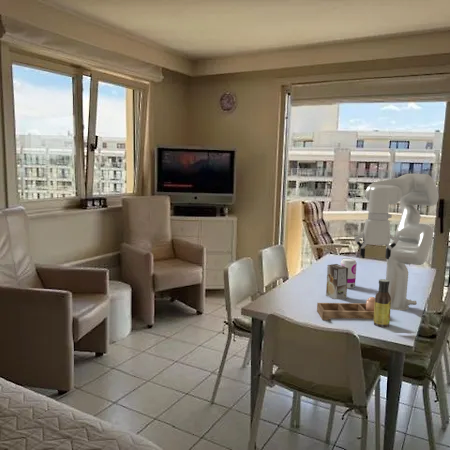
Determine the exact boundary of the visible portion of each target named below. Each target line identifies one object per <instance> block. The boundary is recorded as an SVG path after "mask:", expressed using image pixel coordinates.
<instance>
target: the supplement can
mask: <svg viewBox="0 0 450 450" xmlns="http://www.w3.org/2000/svg"><path fill="white" fill-rule="evenodd" d="M356 261H357V260H356V259H354V258H347V257H346V258H342V260H341V261H340V265H341V266H344V267H347V268H348V279H347V289H354V287H356V277H357V265H358V264H357V262H356Z"/></svg>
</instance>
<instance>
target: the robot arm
mask: <svg viewBox="0 0 450 450" xmlns="http://www.w3.org/2000/svg"><path fill="white" fill-rule="evenodd" d="M434 180H435V179H433V177H432V176H431V175H430V174H427V173H426V174H425V173H405V174H403V175H401V176H398V177H396V178H391V179H385V180H384V179H383V180H379V181H375V182H372V183H370V184H369V185H368V186H367V188H366V190H365V198H366V200H367V201H368V202H369V203H368V212H367V213H368V216H367V219H365V222H364V226H363V232H362V233H361V234H359V235H356V236H354V241H355V243H356V244H357V245H358V246H359V248H360V252H359V256H361V258H362V259H365V257H366V248H365V247H366V246H367V245H375V246H386V247H385V255H384V256H385V259H386V274H385V280H389V288H388V290H389V291H388V292H389V294H390V296H391V310H392V311H406V310H409V309H410V305H411V306H417V300H412V299H407V295H408V294H407V293H408V284H409V283H408V281H409V270H408V267H407V266H406V264H407V265H415V266H422V265H424V264H425V263H426V260H427V258H428V254H429V251H430V248H431V245H432V242H433V237H434V230H433V227H432V226H431V225H429V224H426V223H420V221H421V218H422V216H421V214H420V212H419V210H418V209H417V208H416V207H415V205H417V206H426V207H427V206H429V207H430V206H431V207H433V206H435V205H436V204H437V203H438V201H439V195H440V194H439V190H438V187H437V185H436V183H435V181H434ZM399 202H400V209H401V216H400V219H399V221H398V224H397V226H396V227H397V228H396V230H395V236H393V235H392V234H391V226H390V221H389V219H390V218H392V214H390V213H389V205H391V204H392V205H394V204H398V203H399ZM360 239H362V243H361V242H360ZM391 240H392V241H391Z"/></svg>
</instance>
